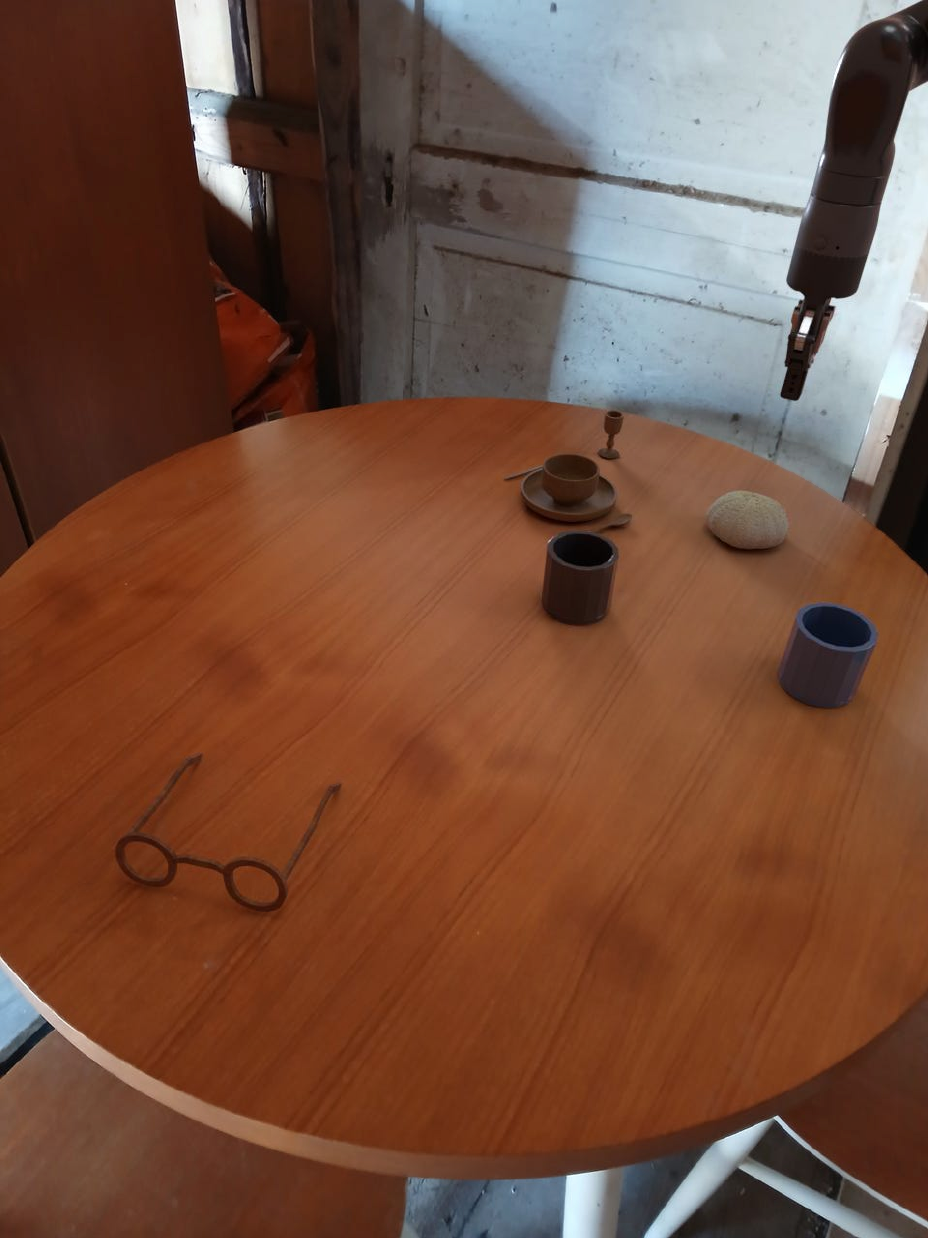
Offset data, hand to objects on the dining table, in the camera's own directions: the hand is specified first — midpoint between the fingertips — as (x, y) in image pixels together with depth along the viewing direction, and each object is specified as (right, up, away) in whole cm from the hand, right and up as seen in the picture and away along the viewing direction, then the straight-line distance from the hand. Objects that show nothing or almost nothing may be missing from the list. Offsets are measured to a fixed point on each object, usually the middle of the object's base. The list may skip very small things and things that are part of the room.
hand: (790, 396), depth 106 cm
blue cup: (-4, -32, -19) cm, 38 cm away
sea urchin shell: (-5, -16, +2) cm, 17 cm away
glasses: (-56, -43, -35) cm, 79 cm away
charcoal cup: (-26, -24, -10) cm, 37 cm away
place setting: (-22, -10, +9) cm, 26 cm away
